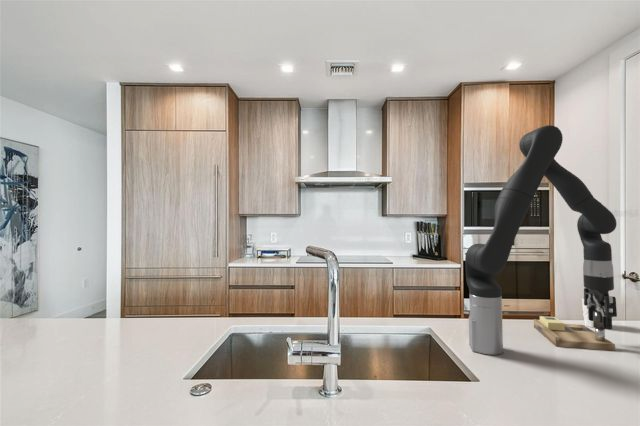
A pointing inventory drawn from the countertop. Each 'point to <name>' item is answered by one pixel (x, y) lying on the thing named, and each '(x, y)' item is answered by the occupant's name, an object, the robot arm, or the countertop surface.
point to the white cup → (585, 315)
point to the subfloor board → (574, 337)
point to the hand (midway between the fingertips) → (599, 324)
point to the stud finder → (552, 323)
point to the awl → (598, 326)
